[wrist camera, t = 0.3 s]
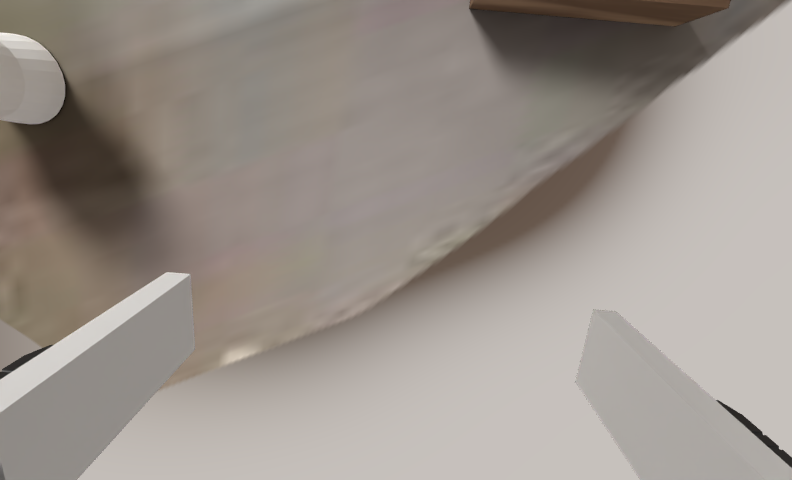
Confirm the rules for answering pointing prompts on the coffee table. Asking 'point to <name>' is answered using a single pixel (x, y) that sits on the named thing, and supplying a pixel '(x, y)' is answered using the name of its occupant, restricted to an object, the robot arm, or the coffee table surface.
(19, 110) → the cup
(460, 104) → the coffee table surface
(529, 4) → the walls
